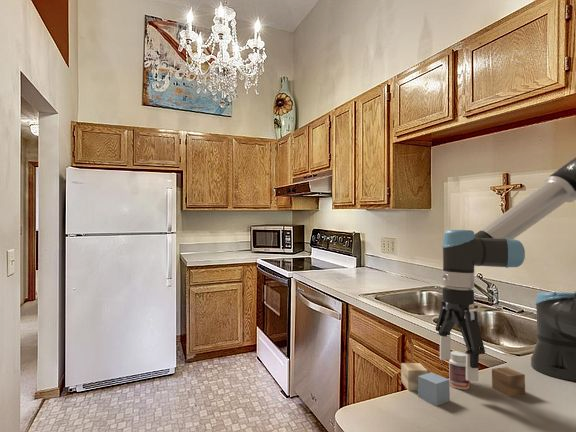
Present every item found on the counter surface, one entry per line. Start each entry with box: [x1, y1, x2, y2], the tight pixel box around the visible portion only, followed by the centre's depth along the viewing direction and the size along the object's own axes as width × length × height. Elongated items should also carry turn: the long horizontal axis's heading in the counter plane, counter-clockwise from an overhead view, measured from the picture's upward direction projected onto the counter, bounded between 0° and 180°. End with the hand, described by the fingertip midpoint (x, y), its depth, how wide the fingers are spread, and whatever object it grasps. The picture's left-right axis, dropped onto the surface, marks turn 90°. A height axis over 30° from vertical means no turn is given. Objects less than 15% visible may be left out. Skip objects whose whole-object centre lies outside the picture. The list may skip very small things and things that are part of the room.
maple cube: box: [400, 362, 429, 391], centre depth 90 cm, size 5×5×5 cm
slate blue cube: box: [417, 371, 451, 407], centre depth 83 cm, size 5×5×5 cm
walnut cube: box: [491, 366, 526, 398], centre depth 88 cm, size 5×5×5 cm
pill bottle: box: [448, 350, 471, 391], centre depth 90 cm, size 5×5×8 cm
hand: (457, 369), depth 90 cm, fingers open, 13 cm apart
